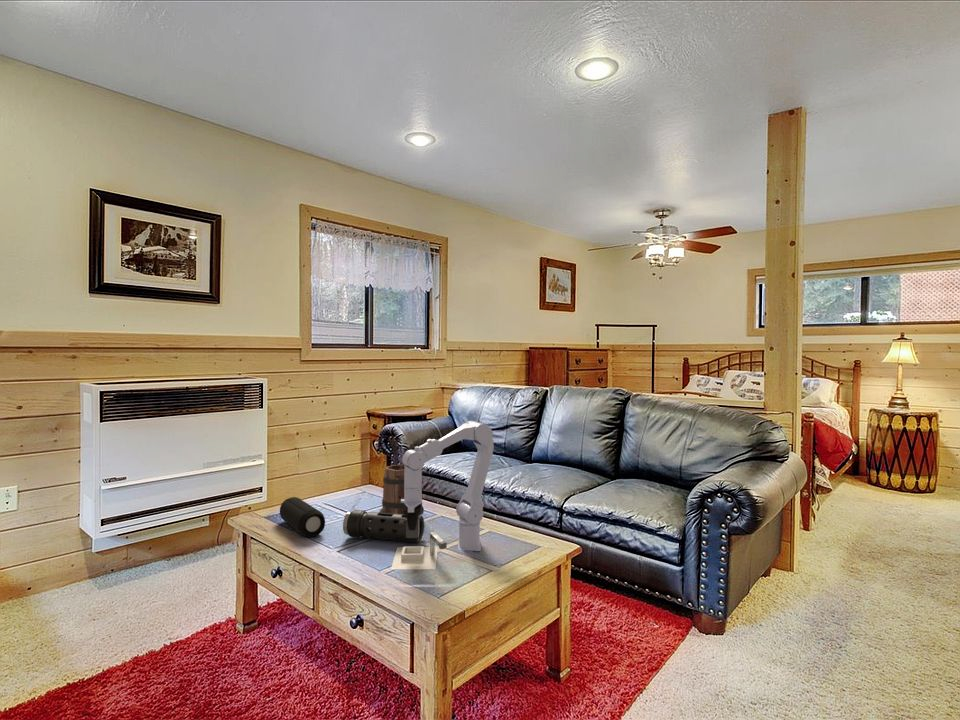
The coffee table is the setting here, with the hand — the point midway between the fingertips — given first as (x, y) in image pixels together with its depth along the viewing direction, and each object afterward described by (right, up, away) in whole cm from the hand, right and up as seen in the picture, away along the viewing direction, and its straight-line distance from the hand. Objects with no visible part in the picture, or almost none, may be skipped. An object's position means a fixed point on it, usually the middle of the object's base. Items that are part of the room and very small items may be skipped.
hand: (412, 527), depth 173 cm
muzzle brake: (-13, -10, +16) cm, 23 cm away
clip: (+8, -10, -4) cm, 13 cm away
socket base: (+1, -10, -1) cm, 10 cm away
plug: (-1, -3, 0) cm, 3 cm away
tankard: (-10, -9, +43) cm, 45 cm away
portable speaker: (-46, -10, +27) cm, 55 cm away
